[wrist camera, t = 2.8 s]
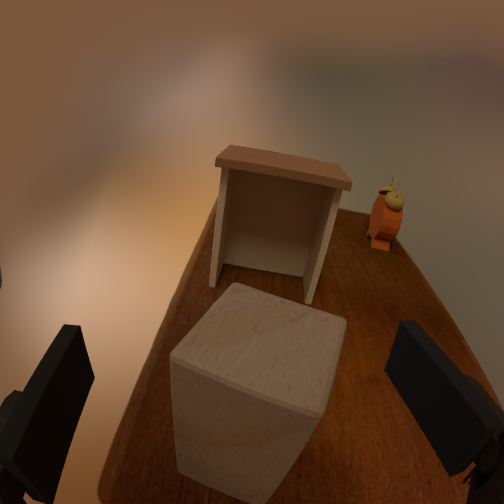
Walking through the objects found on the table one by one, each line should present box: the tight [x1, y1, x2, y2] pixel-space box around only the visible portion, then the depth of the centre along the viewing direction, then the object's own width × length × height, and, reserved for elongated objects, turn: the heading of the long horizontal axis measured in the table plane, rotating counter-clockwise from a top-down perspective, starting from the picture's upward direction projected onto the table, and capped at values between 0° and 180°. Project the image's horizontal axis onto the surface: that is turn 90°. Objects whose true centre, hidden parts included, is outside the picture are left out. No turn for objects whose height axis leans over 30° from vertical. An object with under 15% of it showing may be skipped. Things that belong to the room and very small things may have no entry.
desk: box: [209, 145, 352, 304], centre depth 58 cm, size 13×21×24 cm, turn 84°
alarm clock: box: [366, 178, 404, 251], centre depth 88 cm, size 13×6×20 cm, turn 171°
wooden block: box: [170, 283, 347, 504], centre depth 26 cm, size 10×10×20 cm
